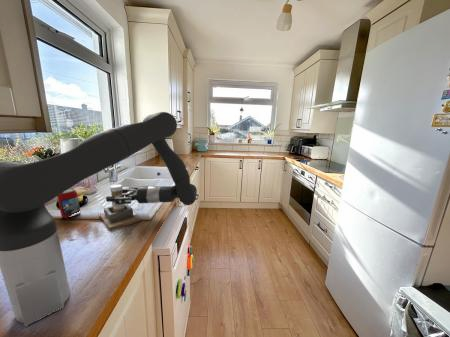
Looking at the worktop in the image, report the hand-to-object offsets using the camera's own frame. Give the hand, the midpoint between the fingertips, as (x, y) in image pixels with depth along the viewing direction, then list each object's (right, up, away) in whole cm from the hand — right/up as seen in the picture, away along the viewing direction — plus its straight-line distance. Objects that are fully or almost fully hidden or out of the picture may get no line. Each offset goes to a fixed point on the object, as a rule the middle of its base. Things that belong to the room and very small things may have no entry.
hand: (111, 195), depth 81 cm
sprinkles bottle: (+2, -9, +2) cm, 10 cm away
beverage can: (-21, -10, +4) cm, 24 cm away
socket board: (+2, -10, +3) cm, 11 cm away
